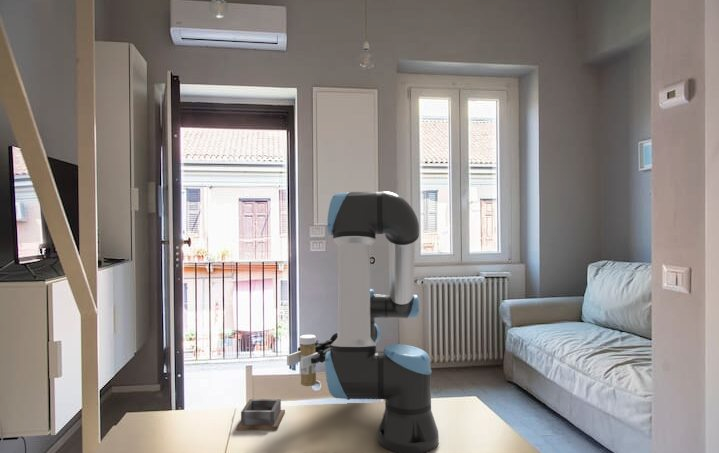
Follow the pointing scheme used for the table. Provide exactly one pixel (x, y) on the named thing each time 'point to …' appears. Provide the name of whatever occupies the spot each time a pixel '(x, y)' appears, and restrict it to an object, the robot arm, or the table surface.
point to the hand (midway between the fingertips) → (294, 361)
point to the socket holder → (261, 415)
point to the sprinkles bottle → (305, 349)
